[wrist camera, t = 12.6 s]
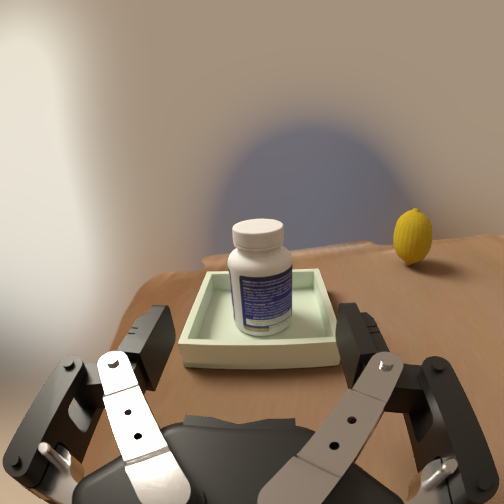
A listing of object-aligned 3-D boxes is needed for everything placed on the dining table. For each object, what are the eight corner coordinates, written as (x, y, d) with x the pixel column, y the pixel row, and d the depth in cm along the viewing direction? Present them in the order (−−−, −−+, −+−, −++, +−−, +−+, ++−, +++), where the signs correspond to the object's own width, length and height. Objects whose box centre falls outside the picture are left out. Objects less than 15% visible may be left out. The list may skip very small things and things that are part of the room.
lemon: (394, 254, 38) (399, 201, 35) (428, 261, 35) (436, 207, 32) (386, 268, 34) (393, 208, 31) (424, 277, 31) (435, 216, 28)
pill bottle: (303, 318, 25) (306, 224, 22) (261, 346, 22) (256, 242, 19) (263, 298, 29) (259, 213, 25) (222, 319, 26) (210, 227, 22)
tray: (317, 288, 31) (318, 268, 30) (339, 365, 20) (343, 340, 19) (210, 291, 32) (207, 271, 31) (184, 366, 21) (177, 343, 20)
